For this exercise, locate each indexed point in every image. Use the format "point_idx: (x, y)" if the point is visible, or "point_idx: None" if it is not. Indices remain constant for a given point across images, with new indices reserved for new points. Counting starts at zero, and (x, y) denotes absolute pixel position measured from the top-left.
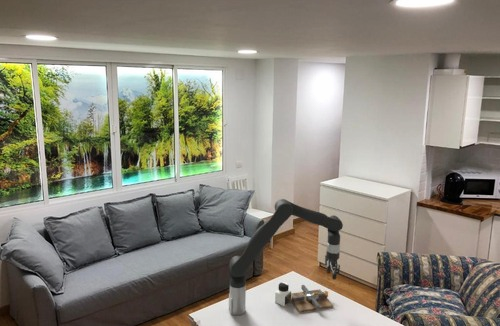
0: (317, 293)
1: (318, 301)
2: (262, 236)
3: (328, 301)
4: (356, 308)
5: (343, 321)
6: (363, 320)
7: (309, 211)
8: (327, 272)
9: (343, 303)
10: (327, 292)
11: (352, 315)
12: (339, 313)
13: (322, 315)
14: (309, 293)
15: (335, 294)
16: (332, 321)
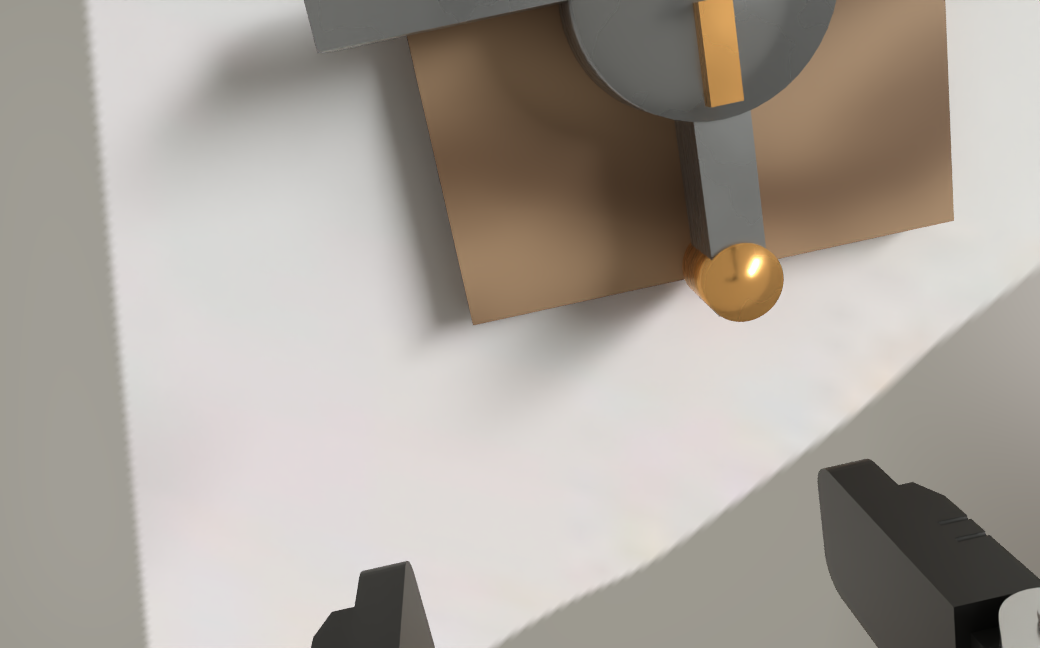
0: (709, 101)
1: (598, 100)
2: None
3: (583, 274)
4: (445, 621)
5: (123, 376)
6: (170, 637)
7: None
8: (837, 488)
9: (573, 486)
10: (731, 307)
11: (279, 532)
12: (323, 369)
13: (261, 86)
14: None
15: (811, 432)
16: (107, 211)
